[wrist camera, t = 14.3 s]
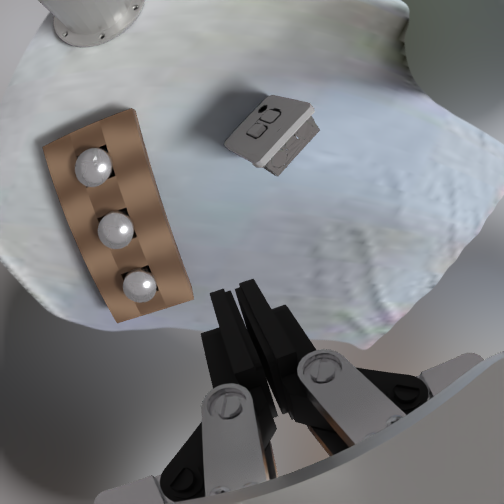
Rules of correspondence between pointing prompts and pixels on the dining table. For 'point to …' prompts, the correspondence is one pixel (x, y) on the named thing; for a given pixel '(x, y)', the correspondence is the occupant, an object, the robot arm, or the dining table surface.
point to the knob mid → (116, 229)
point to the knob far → (139, 284)
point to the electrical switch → (274, 133)
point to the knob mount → (113, 199)
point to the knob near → (94, 167)
